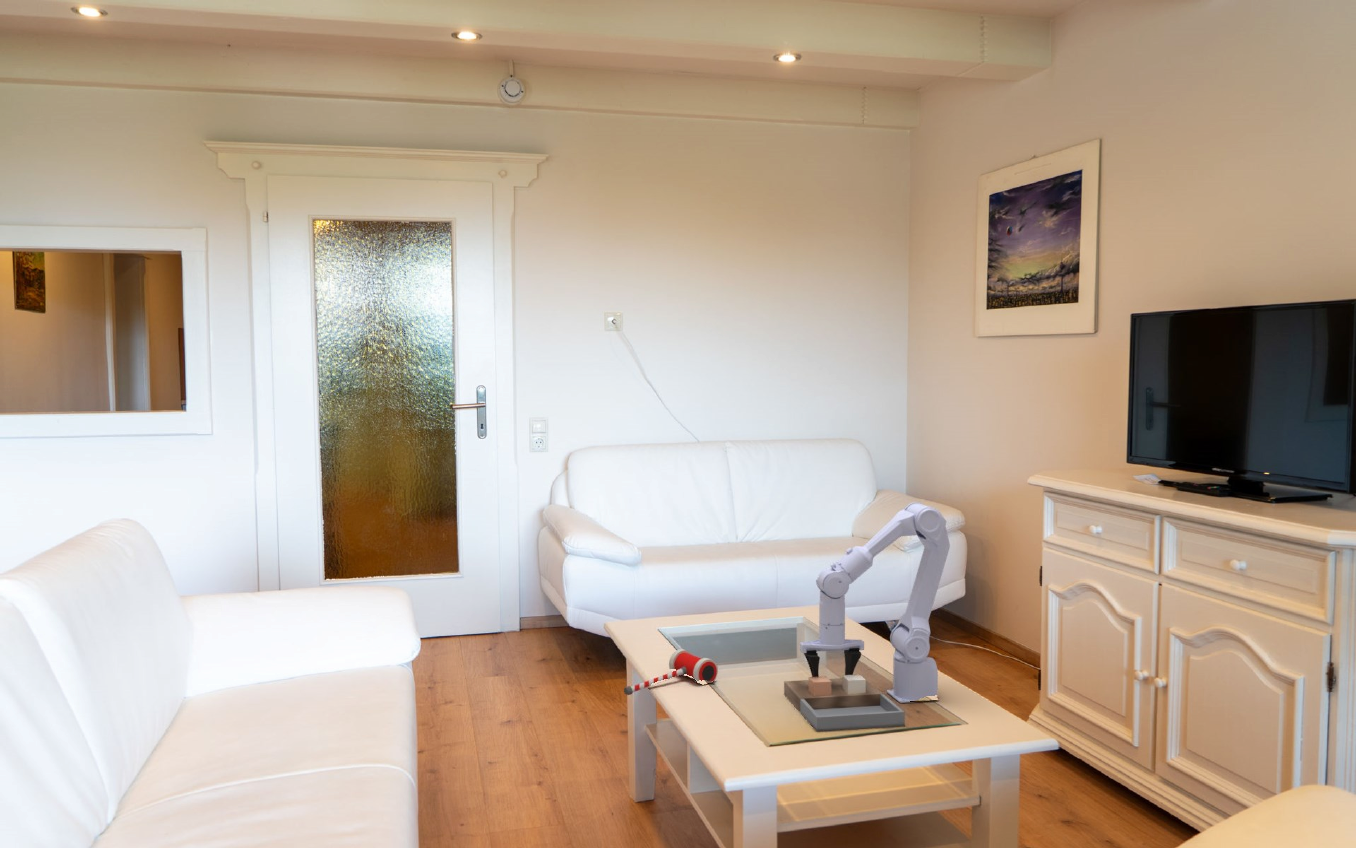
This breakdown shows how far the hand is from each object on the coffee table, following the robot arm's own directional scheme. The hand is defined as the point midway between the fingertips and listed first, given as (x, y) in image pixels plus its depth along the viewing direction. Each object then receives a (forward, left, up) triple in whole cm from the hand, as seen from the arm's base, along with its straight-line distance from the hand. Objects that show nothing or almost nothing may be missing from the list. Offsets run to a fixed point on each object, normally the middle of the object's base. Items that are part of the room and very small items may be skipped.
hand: (831, 682), depth 218 cm
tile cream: (-4, +4, 0) cm, 5 cm away
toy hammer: (+33, -18, -5) cm, 38 cm away
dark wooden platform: (0, 0, -4) cm, 4 cm away
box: (0, +13, -4) cm, 13 cm away
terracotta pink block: (+4, +4, 0) cm, 5 cm away
